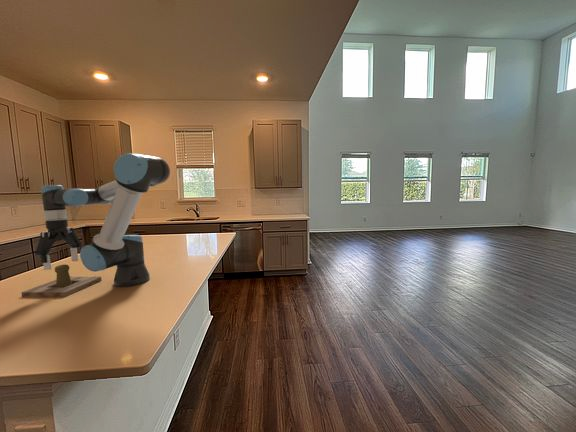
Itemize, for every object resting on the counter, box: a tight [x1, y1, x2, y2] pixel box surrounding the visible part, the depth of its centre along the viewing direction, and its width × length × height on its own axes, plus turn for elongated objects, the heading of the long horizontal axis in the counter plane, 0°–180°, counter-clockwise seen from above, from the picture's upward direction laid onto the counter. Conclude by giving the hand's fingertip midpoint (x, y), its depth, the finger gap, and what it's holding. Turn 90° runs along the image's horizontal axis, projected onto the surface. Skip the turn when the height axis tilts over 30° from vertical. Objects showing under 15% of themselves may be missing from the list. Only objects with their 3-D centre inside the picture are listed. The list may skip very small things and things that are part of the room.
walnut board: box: [21, 276, 103, 298], centre depth 123 cm, size 20×20×2 cm
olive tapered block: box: [54, 264, 72, 288], centre depth 122 cm, size 6×6×11 cm
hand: (62, 265), depth 122 cm, fingers open, 13 cm apart
